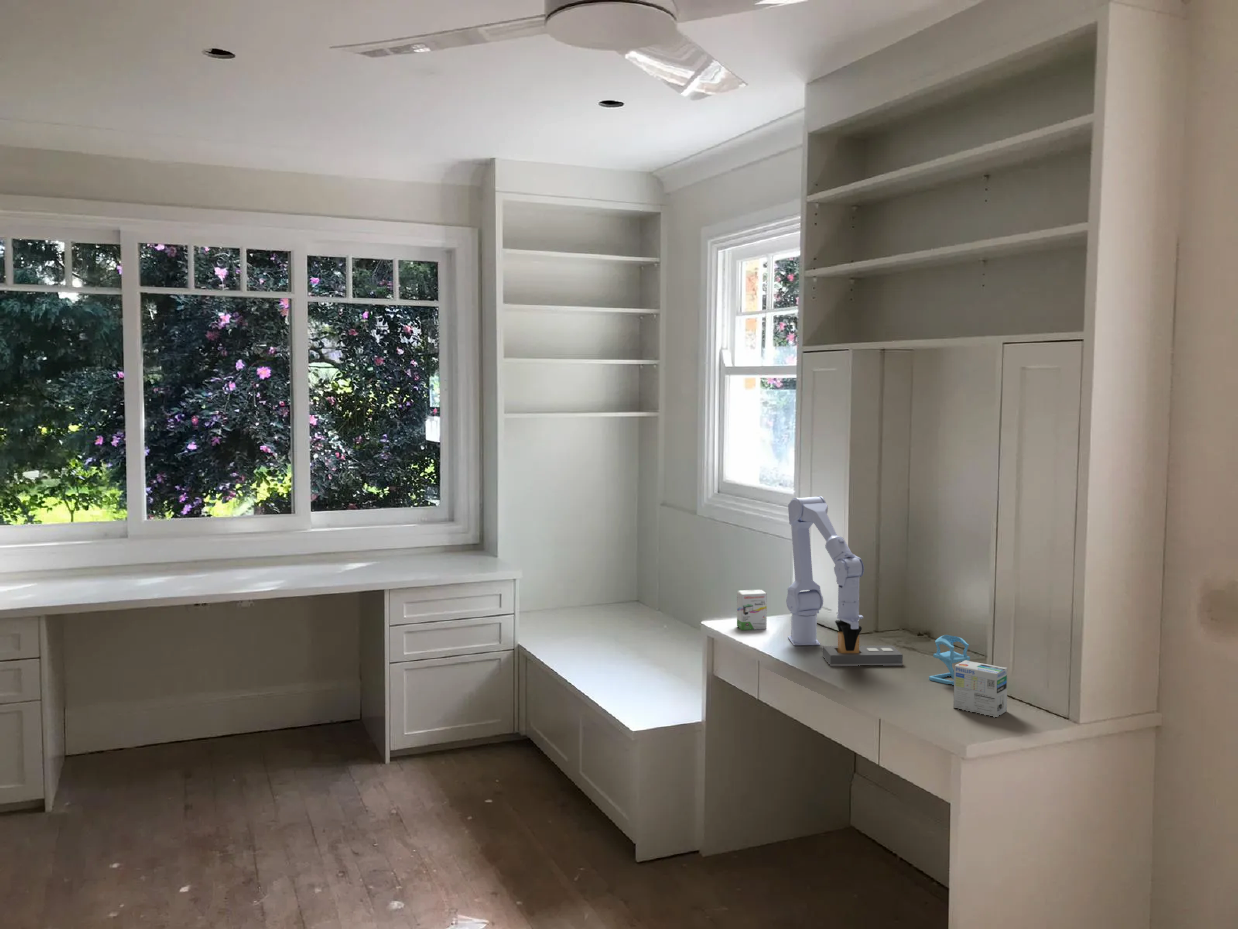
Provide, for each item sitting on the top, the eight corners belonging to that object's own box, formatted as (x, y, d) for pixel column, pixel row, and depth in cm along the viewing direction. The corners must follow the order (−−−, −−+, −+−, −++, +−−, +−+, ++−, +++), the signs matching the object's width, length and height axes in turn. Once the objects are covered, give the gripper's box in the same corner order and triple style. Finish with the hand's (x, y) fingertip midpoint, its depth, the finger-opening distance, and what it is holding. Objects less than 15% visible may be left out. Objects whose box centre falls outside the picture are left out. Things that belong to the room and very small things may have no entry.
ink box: (741, 630, 312) (741, 593, 310) (736, 626, 316) (736, 590, 315) (767, 629, 313) (767, 592, 312) (761, 625, 318) (762, 589, 317)
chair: (951, 688, 253) (953, 642, 251) (928, 679, 260) (929, 635, 259) (974, 684, 256) (975, 639, 255) (949, 675, 263) (951, 631, 262)
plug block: (837, 652, 279) (837, 631, 279) (855, 652, 279) (855, 631, 279) (841, 656, 275) (841, 635, 275) (859, 656, 275) (859, 635, 275)
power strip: (822, 656, 282) (822, 645, 282) (892, 655, 282) (892, 644, 282) (830, 666, 273) (830, 654, 272) (902, 665, 273) (902, 654, 273)
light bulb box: (1007, 711, 235) (1008, 667, 234) (996, 719, 230) (998, 673, 229) (963, 702, 242) (964, 658, 241) (952, 709, 237) (953, 664, 236)
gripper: (870, 606, 269) (869, 655, 270) (856, 594, 283) (855, 641, 284) (844, 606, 269) (843, 655, 270) (831, 595, 283) (830, 641, 284)
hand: (847, 648), depth 277 cm, fingers closed on plug block, 4 cm apart
